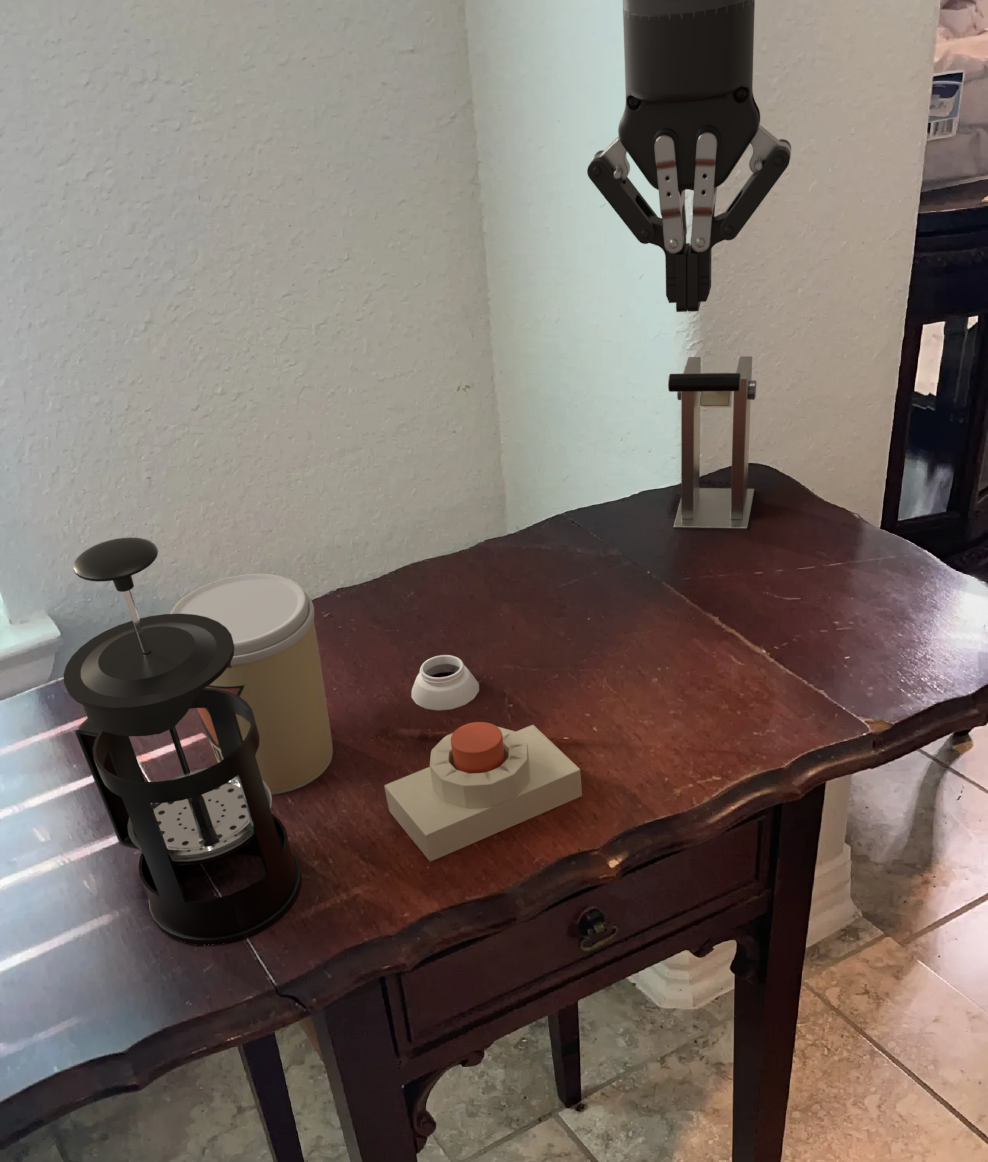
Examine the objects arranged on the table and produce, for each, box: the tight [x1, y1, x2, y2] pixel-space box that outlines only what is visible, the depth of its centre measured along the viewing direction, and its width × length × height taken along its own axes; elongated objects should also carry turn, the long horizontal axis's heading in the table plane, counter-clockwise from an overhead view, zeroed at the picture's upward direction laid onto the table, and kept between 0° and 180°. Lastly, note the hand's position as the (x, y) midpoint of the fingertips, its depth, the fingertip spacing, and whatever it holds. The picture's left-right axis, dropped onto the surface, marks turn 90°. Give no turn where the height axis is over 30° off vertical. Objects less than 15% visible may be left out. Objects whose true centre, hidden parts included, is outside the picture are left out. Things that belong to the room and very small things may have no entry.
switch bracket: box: [672, 355, 757, 531], centre depth 102 cm, size 7×6×13 cm
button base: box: [383, 724, 583, 862], centre depth 80 cm, size 11×6×4 cm, turn 119°
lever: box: [667, 372, 741, 409], centre depth 95 cm, size 12×5×2 cm, turn 166°
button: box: [451, 721, 505, 774], centre depth 78 cm, size 3×3×2 cm
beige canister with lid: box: [169, 573, 334, 796], centre depth 83 cm, size 9×9×12 cm
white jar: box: [410, 654, 480, 711], centre depth 90 cm, size 5×3×5 cm
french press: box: [63, 536, 303, 946], centre depth 70 cm, size 12×9×23 cm
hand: (689, 307), depth 84 cm, fingers closed
